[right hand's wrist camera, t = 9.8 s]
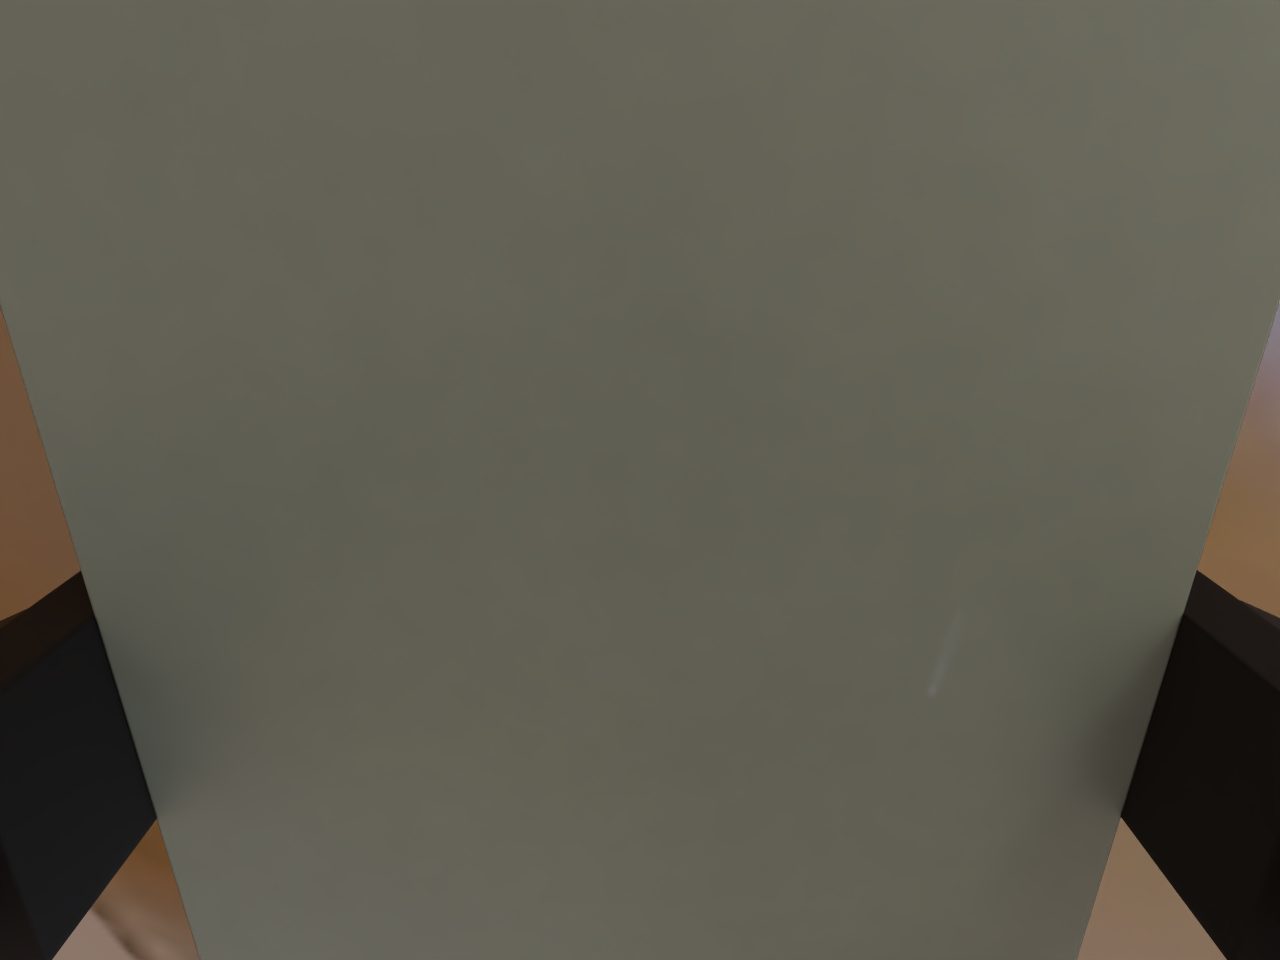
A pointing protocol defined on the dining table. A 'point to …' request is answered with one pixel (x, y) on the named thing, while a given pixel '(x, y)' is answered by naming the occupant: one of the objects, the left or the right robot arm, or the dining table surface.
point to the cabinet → (639, 448)
